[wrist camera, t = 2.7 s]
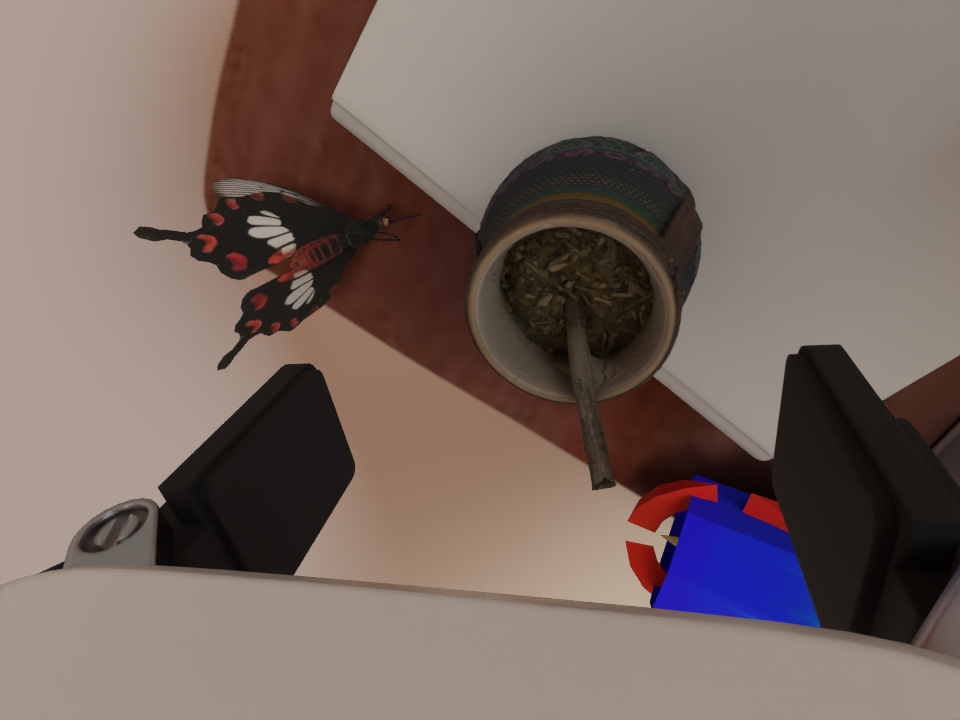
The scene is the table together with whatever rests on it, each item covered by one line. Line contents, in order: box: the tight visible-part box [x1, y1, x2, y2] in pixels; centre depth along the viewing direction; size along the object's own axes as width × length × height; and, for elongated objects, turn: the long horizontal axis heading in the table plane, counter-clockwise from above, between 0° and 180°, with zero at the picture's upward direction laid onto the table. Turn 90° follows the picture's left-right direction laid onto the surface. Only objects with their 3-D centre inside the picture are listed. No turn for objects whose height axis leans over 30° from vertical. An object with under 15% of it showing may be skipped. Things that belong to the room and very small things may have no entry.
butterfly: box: [134, 178, 422, 370], centre depth 24 cm, size 11×8×10 cm
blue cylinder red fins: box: [626, 475, 821, 628], centre depth 27 cm, size 12×12×12 cm
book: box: [331, 0, 960, 461], centre depth 19 cm, size 18×4×24 cm
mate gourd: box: [465, 136, 703, 490], centre depth 16 cm, size 7×8×10 cm
